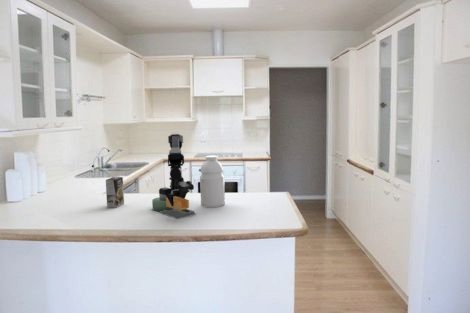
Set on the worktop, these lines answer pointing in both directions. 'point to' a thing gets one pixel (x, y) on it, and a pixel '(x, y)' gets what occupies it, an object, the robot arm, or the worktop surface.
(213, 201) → the bottle
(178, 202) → the chute
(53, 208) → the worktop surface
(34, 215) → the worktop surface
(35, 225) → the worktop surface
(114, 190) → the coffee box
